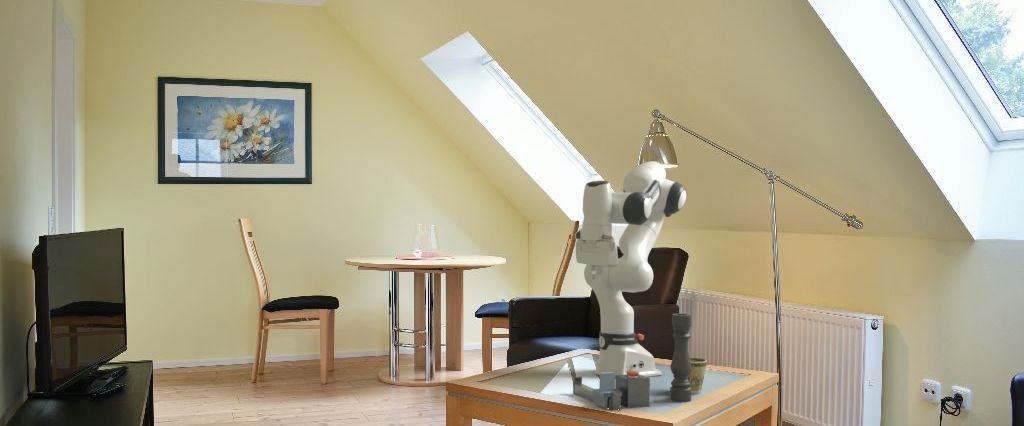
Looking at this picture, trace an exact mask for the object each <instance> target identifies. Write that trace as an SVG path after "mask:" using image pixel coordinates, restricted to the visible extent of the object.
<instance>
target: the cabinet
mask: <svg viewBox="0 0 1024 426" xmlns="http://www.w3.org/2000/svg"><path fill="white" fill-rule="evenodd" d="M650 380H651V379H650V377H645V376H642V375H638V378H629V377H628V375H627V374H625V375H616V377H615V389H616V390H618V391H621V392H622V396H621V397H620V407H624V408H626V409H634V408H645V407H650V396H651V395H650V392H651V391H650V385H651V383H650V382H651V381H650Z"/></svg>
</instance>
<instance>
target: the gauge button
mask: <svg viewBox="0 0 1024 426" xmlns="http://www.w3.org/2000/svg"><path fill="white" fill-rule="evenodd" d="M627 375H628V377H629V378H638V375H639V372H638V371H627Z"/></svg>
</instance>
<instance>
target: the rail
mask: <svg viewBox="0 0 1024 426" xmlns="http://www.w3.org/2000/svg"><path fill="white" fill-rule="evenodd" d="M572 378H573V379H572V382H573V383H572V394H573V395H576V396H578V397H579V398H583V399H585V400H587V401H589V402H592V403H593V402H594V394H593V389H595V388H593V387H591V386H589V385H586V384H584V383H583V376H573V377H572ZM620 397H621V392H611V397H608V400H607V408H609V409H608V410H610V409H612V410H617V411H621V405H620ZM607 408H606V409H607ZM618 409H619V410H618ZM612 410H611V411H612Z"/></svg>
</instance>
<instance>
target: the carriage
mask: <svg viewBox="0 0 1024 426" xmlns="http://www.w3.org/2000/svg"><path fill="white" fill-rule="evenodd" d="M611 392H621V391H618V390H616V377H615V373H614V372H602V373H600V375H599V388H594V389H593V394H594V403H593V404H595V405H598V406H600V407H602V408H605V407H607V400H608V397H611ZM621 396H622V392H621ZM605 409H606V408H605Z"/></svg>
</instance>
